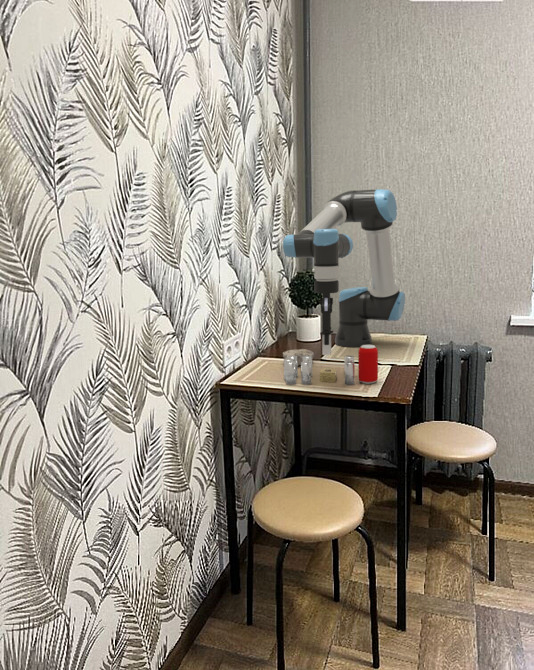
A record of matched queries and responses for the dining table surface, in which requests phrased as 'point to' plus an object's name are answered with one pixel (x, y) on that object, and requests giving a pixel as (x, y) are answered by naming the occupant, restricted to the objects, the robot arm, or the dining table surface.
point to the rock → (298, 354)
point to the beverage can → (368, 364)
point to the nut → (328, 375)
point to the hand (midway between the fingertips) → (326, 354)
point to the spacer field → (306, 370)
